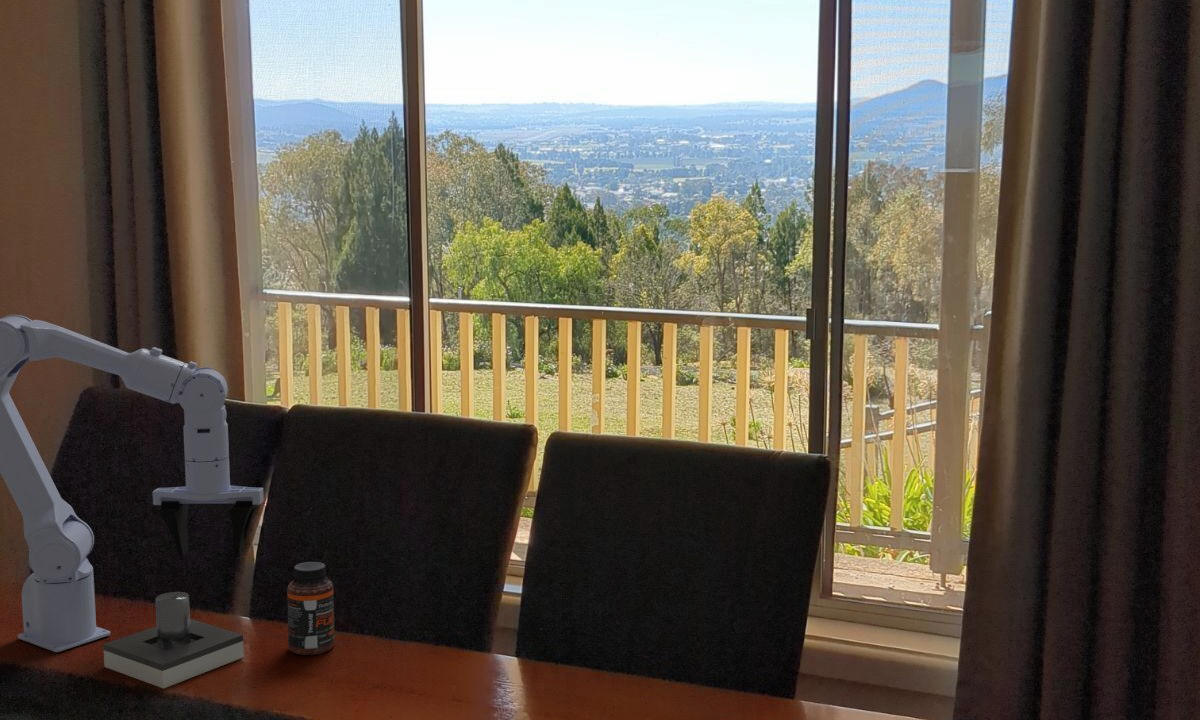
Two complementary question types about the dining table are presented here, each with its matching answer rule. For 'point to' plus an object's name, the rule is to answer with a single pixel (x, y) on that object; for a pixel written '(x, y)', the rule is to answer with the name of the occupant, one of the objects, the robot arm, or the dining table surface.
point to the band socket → (173, 654)
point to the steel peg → (173, 620)
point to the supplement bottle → (310, 610)
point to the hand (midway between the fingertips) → (211, 554)
